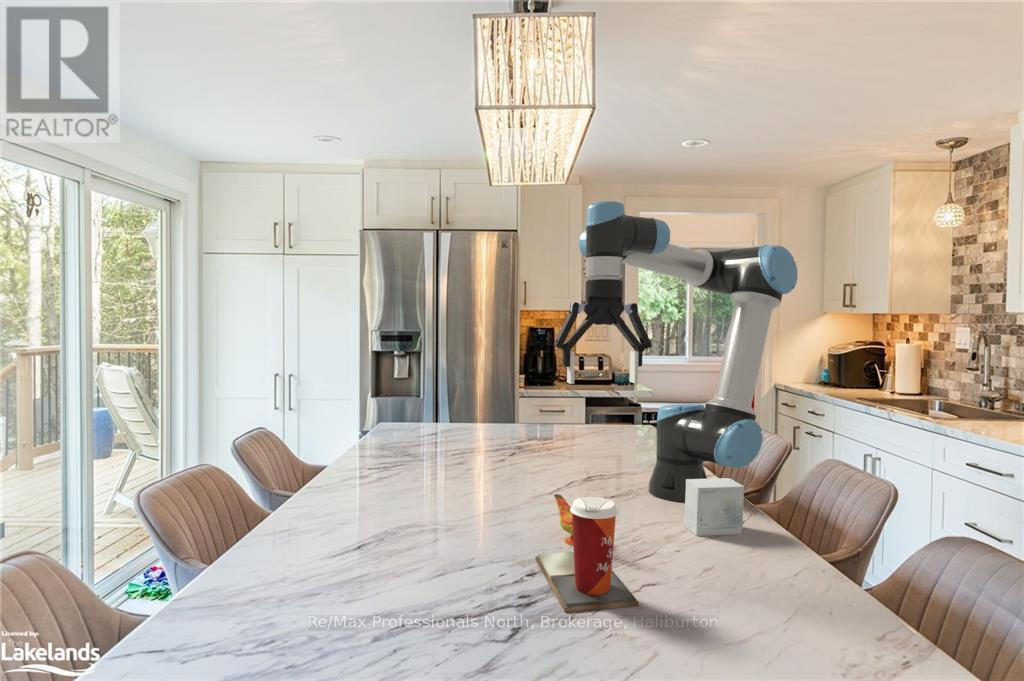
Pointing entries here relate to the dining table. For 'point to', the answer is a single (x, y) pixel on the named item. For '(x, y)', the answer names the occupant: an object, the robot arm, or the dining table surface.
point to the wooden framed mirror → (563, 585)
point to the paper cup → (593, 543)
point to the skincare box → (714, 506)
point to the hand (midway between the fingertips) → (602, 383)
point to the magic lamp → (565, 517)
